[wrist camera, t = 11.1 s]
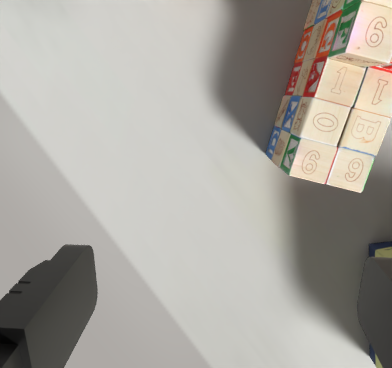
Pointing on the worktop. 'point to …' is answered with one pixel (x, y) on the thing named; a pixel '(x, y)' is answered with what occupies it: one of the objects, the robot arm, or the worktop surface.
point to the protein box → (379, 250)
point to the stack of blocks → (337, 95)
